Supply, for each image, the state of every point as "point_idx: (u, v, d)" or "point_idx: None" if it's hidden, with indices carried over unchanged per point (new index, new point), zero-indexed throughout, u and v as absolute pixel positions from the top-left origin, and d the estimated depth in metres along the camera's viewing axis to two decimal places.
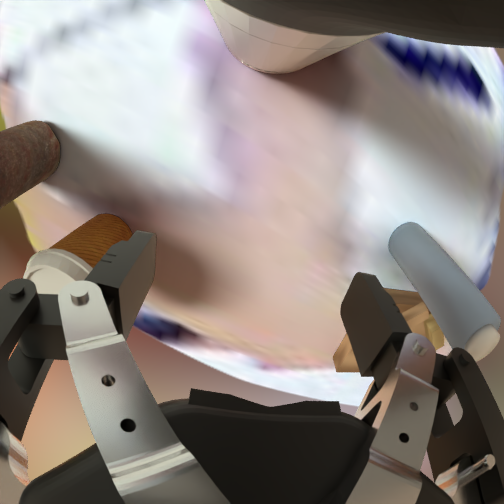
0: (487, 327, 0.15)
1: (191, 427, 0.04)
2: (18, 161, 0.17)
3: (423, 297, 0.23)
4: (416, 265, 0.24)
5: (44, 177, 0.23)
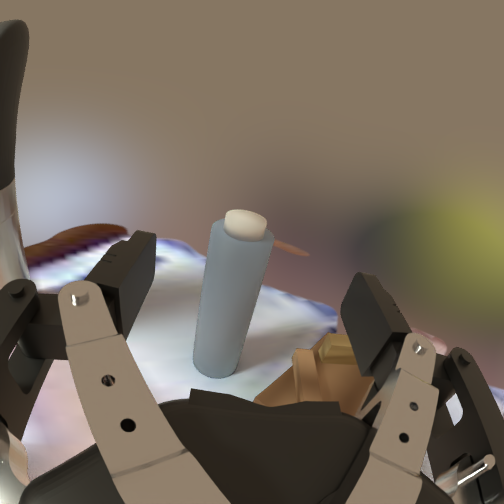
0: None
1: (191, 427, 0.04)
2: None
3: (222, 317, 0.24)
4: (201, 329, 0.26)
5: None
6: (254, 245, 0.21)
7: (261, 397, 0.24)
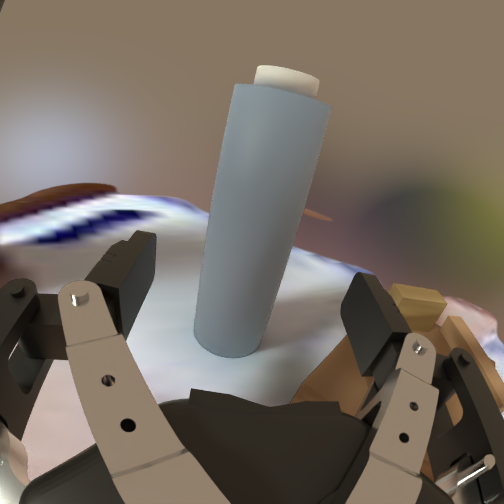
0: None
1: (191, 427, 0.04)
2: None
3: (248, 234, 0.14)
4: (210, 266, 0.16)
5: None
6: None
7: (312, 381, 0.14)
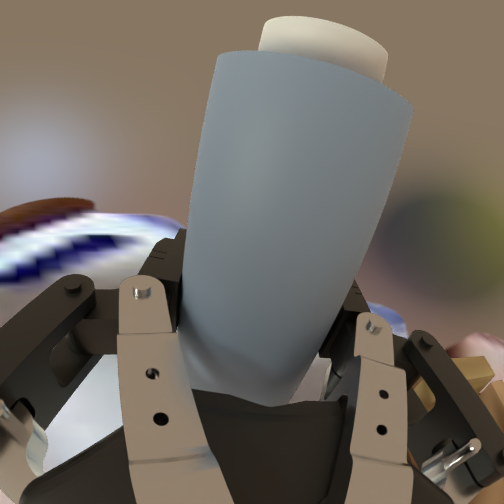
0: None
1: None
2: None
3: (245, 359, 0.07)
4: None
5: None
6: None
7: None
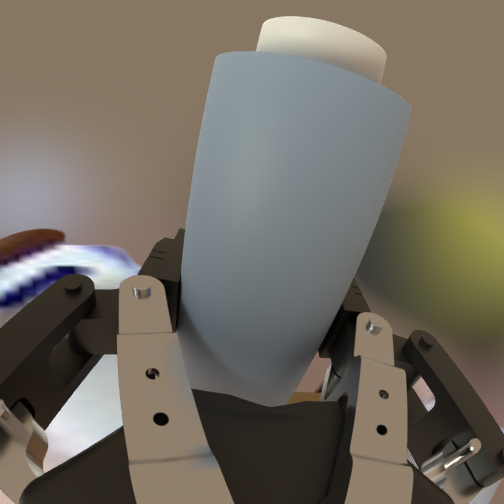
0: None
1: None
2: None
3: (244, 359, 0.07)
4: None
5: None
6: None
7: None
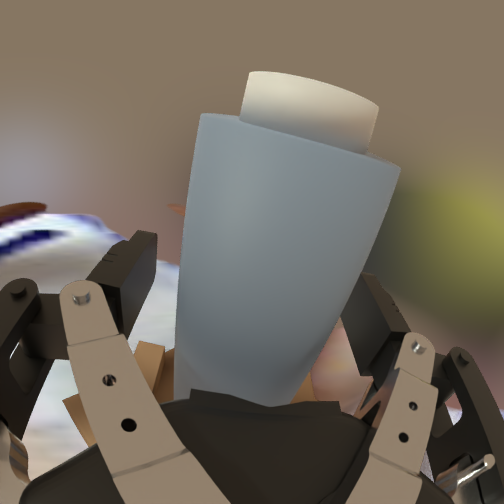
0: None
1: (191, 427, 0.04)
2: None
3: (234, 395, 0.08)
4: None
5: None
6: (364, 157, 0.05)
7: (69, 402, 0.13)
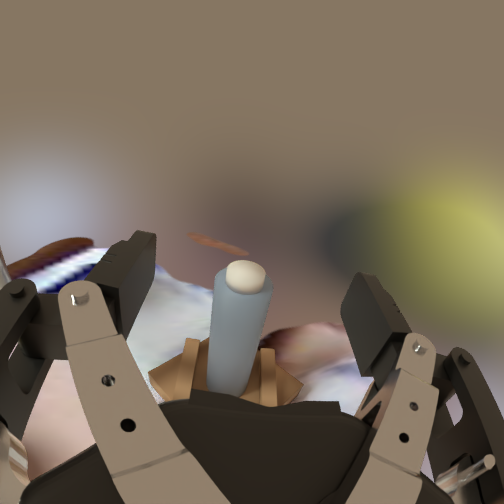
0: None
1: (191, 427, 0.04)
2: None
3: (229, 354, 0.26)
4: (212, 362, 0.28)
5: None
6: (254, 298, 0.23)
7: (152, 372, 0.32)
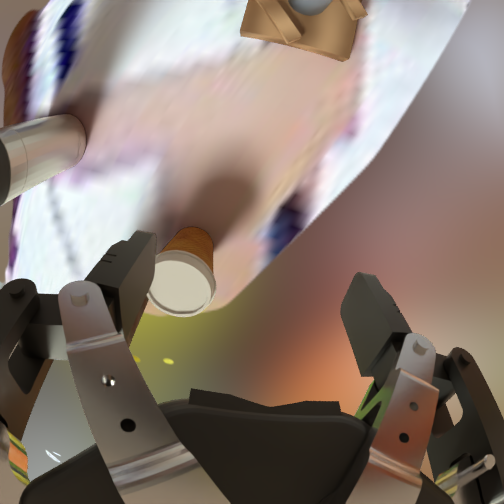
0: None
1: (191, 427, 0.04)
2: None
3: None
4: None
5: None
6: None
7: (243, 28, 0.27)
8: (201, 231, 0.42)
